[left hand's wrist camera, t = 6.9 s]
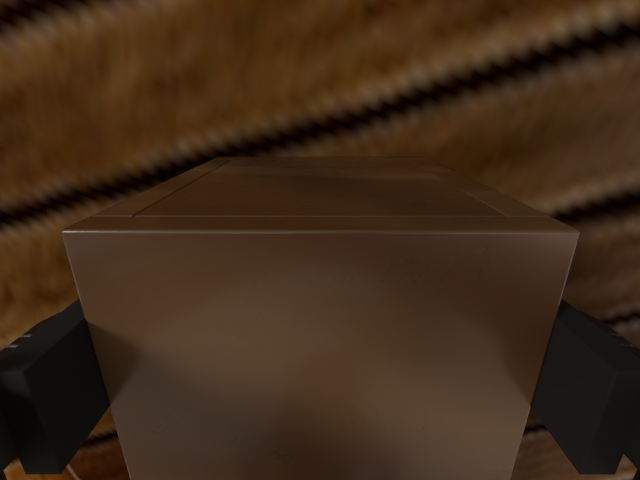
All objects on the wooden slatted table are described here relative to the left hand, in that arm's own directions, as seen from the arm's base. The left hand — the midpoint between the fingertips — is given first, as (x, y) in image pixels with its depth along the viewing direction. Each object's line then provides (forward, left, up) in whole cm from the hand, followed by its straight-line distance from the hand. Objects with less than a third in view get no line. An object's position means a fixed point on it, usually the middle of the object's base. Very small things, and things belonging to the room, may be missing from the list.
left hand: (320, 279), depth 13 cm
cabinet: (+2, +5, -7) cm, 9 cm away
